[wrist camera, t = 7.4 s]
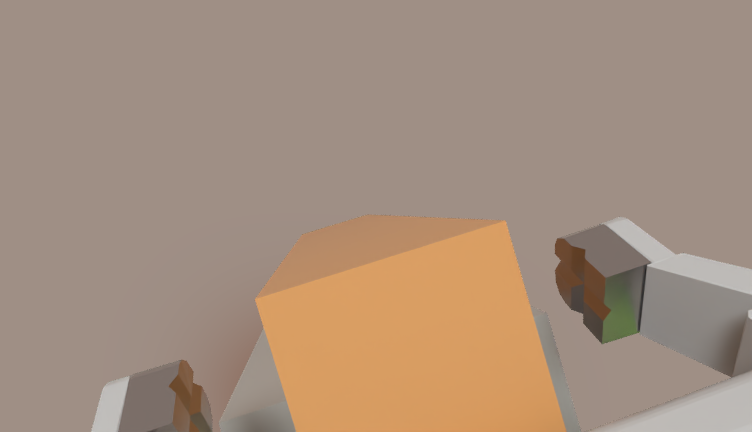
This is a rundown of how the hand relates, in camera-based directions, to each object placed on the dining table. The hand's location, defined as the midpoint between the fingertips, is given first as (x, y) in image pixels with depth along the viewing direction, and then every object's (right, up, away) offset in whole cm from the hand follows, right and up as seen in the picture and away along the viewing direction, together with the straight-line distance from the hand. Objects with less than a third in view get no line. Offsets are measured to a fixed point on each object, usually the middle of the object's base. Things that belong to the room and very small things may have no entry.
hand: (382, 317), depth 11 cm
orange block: (0, -2, +6) cm, 6 cm away
